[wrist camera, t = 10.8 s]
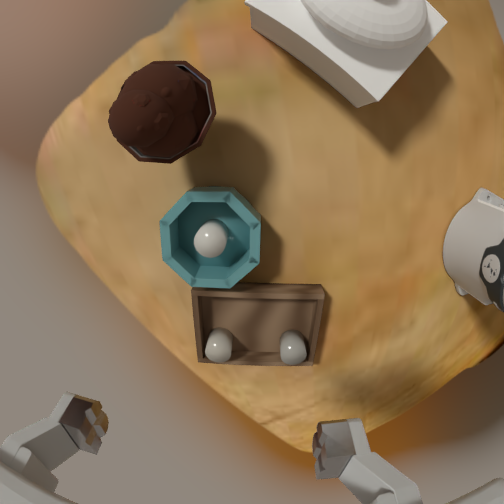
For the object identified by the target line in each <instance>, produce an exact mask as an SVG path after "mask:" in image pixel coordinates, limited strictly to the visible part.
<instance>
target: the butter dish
mask: <svg viewBox="0 0 504 504" xmlns="http://www.w3.org/2000/svg"><path fill="white" fill-rule="evenodd" d="M245 5H247V6H249V7H250V15H251V28H252V29H254V30H255V31H257V32H258V33H260V34H262V35H263V36H265V37H266V38H268V39H269V40H271V41H272V42H274V43H275V44H277V45H278V46H280V47H281V48H283V49H284V50H285V51H287V52H288V53H290V54H291V55H293V56H294V57H295V58H297V59H298V60H299V61H301V62H302V63H303V64H305V65H306V66H307V67H309V68H310V69H311V70H312V71H314V72H315V73H316V74H317V75H319V76H320V77H321V78H322V79H324V80H325V81H326V82H327V83H329V84H330V85H331V86H332V87H333V88H334V89H336V90H337V91H338V92H339V93H340V94H341V95H343V96H344V97H345V98H346V99H347V100H348V101H349V102H350V103H351V104H353V105H354V106H355V107H356V108H359V107H362V106H364V105H367V104H370V103H373V102H378V101H379V100H381V98H382V97H383V96H384V95H385V94H386V93H387V92H388V90H389V89H390V88H391V87H392V86H393V85H394V83H395V82H396V81H397V80H398V79H399V78H400V76H401V75H402V74H403V73H404V72H405V71H406V69H407V68H408V67H409V66H410V65H411V64H412V63H413V61H414V60H415V59H416V58H417V57H418V56H419V54H420V53H421V52H422V51H423V50H424V49H425V47H426V46H427V45H428V44H429V43H430V42H431V41H432V39H433V38H434V37H435V36H436V35H437V34H438V32H439V31H440V30H441V29H442V28H443V27H444V25H445V24H446V23H447V21H446V20H445V19H444V18H443V17H442V15H441V14H440V13H439V12H438V11H437V10H436V9H435V8H433V7H432V6H431V5H430V4H429V3H428V2H427V1H426V0H246V1H245Z"/></svg>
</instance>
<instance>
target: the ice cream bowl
mask: <svg viewBox="0 0 504 504" xmlns="http://www.w3.org/2000/svg"><path fill="white" fill-rule="evenodd" d="M109 114H110V115H109V119H108V123H109V126H110V129H111V131H112V134H113V136H114V137H115V138H117V141H118V142H119V143H120V144H121V145H122V146H123V147H124V148H125V149H126V150H127V151H128V152H130V153H131V154H132V155H133V156H134V157H135V158H136V159H137V160H138V161H142V162H157V163H170V164H171V163H173V162H174V161H176V160H177V159H179V158H181V157H182V156H184V155H186V154H187V153H189V152H191V151H192V150H194V149H196V148H197V147H199V146H201V144H202V142H203V140H204V138H205V136H206V134H207V132H208V130H209V127H210V125H211V123H212V121H213V119H214V117H215V115H216V108H215V103H214V97H213V92H212V86H211V81H210V80H209V79H208V78H207V77H205V76H204V75H203V74H202V73H200V72H199V71H198V70H197V69H195V68H194V67H193V66H192V65H190V64H189V63H188V62H186V61H153V62H151V63H150V64H148V65H146V66H145V67H143V68H142V69H140V70H139V71H136V72H134V73H133V74H132V75H131V76H129V77H128V79H127V80H125V82H124V84H123V85H122V87H121V91H120V93H119V95H118V98H117V100H116V101H115V102H113V105H112V107H111V108H110V110H109Z"/></svg>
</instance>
